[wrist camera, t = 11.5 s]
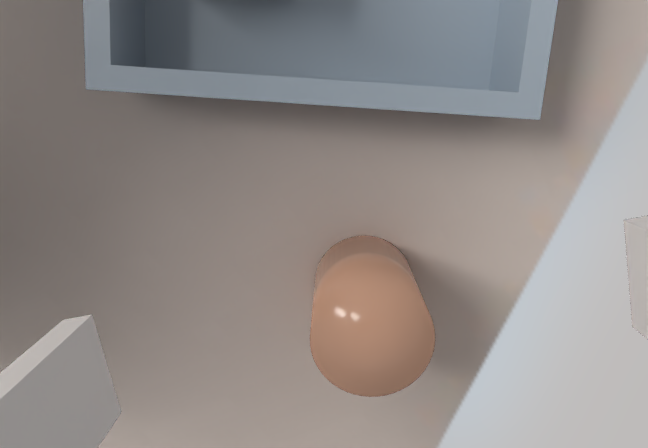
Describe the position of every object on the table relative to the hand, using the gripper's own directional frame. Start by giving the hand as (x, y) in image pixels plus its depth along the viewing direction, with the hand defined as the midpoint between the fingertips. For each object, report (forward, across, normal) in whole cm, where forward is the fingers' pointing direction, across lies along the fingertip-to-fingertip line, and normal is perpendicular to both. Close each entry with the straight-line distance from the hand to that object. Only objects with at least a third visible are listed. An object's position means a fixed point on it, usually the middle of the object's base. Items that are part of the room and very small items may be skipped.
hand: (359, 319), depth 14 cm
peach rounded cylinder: (+15, 0, -4) cm, 16 cm away
